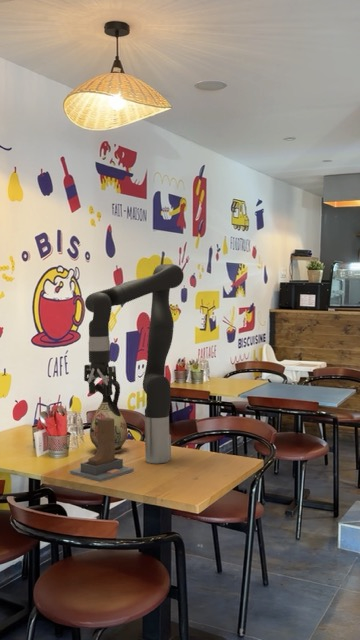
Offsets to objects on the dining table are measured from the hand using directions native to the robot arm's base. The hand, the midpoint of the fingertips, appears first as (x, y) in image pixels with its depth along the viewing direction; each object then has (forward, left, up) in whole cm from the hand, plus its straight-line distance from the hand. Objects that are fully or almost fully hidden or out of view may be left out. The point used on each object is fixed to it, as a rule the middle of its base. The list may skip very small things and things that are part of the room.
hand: (100, 394), depth 220 cm
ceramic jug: (-23, -20, -28) cm, 42 cm away
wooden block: (0, 0, -27) cm, 27 cm away
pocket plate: (0, 0, -28) cm, 28 cm away
